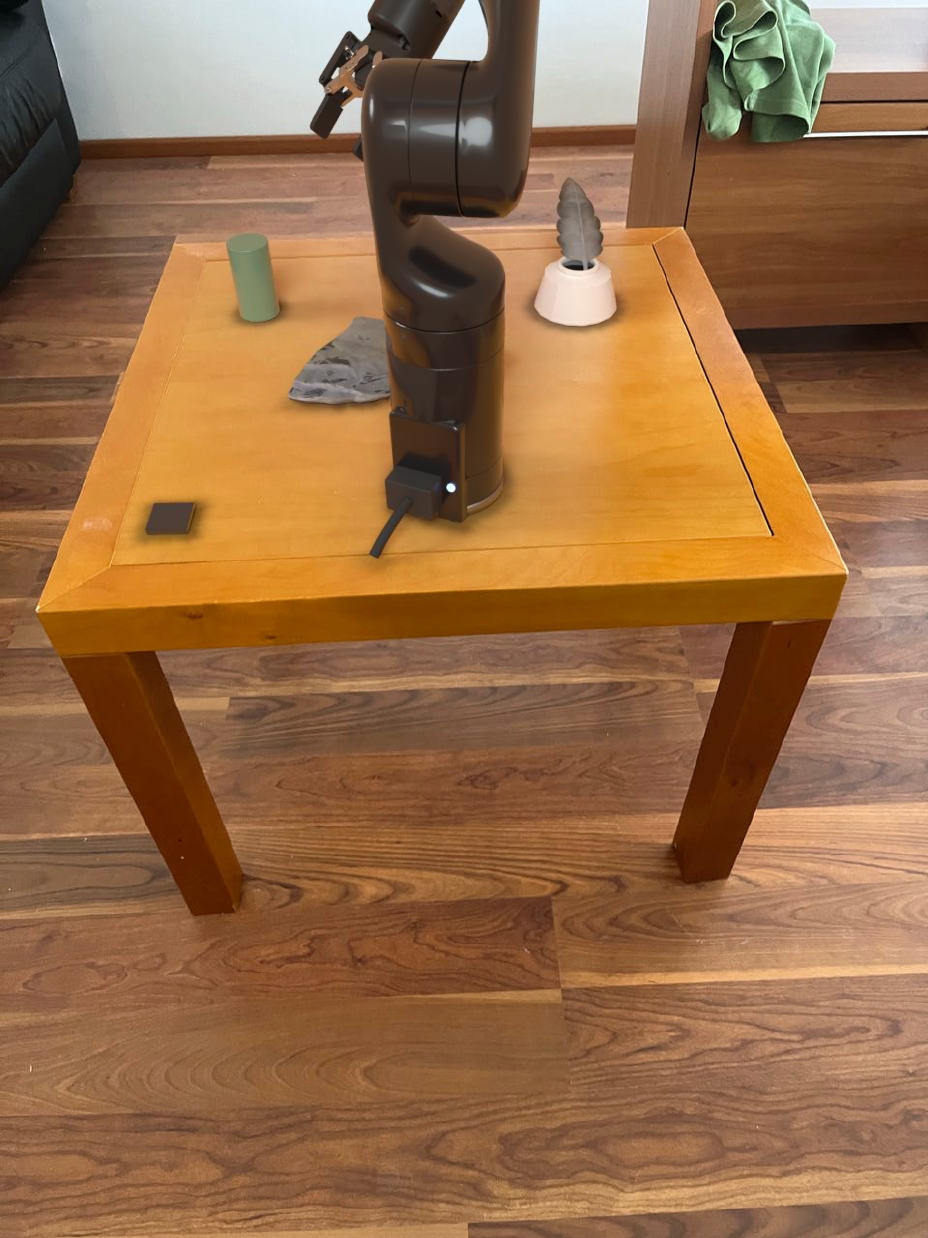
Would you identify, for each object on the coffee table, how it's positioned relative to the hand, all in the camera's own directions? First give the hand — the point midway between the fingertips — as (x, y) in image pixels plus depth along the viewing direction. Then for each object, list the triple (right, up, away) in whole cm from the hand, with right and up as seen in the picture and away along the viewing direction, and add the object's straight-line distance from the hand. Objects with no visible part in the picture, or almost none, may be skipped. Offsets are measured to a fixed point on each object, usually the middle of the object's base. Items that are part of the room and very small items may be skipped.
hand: (337, 146), depth 98 cm
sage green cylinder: (-9, -15, +6) cm, 19 cm away
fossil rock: (+7, -25, -3) cm, 26 cm away
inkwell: (+25, -12, +9) cm, 29 cm away
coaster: (-12, -41, -18) cm, 47 cm away
